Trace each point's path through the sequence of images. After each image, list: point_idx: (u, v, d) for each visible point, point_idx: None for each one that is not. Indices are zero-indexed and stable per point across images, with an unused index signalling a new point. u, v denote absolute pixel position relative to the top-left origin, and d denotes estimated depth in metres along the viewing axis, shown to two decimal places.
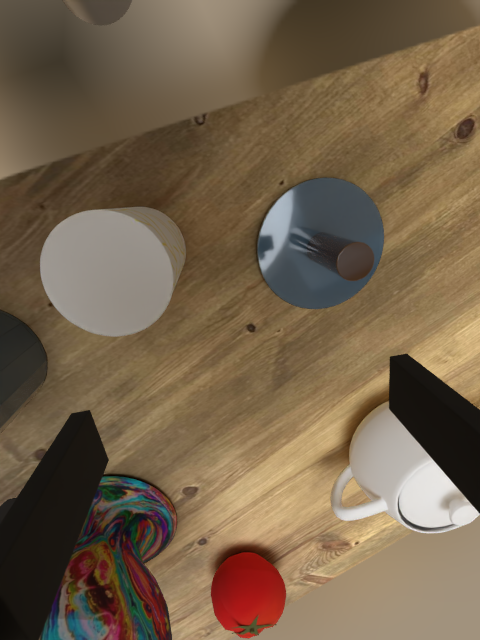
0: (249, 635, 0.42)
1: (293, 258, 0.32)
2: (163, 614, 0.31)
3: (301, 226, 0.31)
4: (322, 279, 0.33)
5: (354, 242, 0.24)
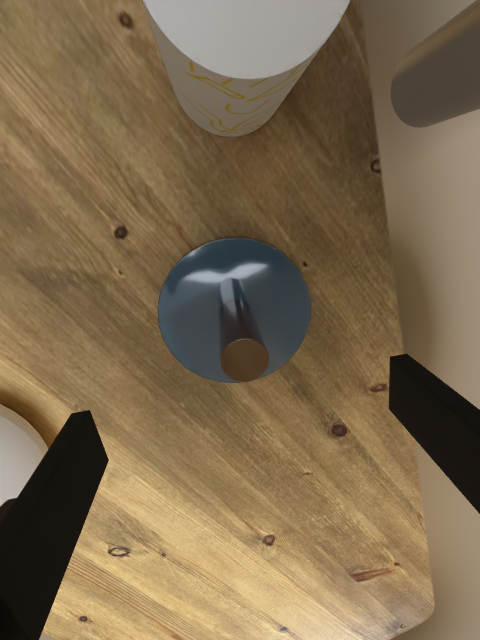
0: None
1: (223, 284, 0.26)
2: None
3: (260, 290, 0.26)
4: (197, 322, 0.27)
5: (268, 355, 0.20)
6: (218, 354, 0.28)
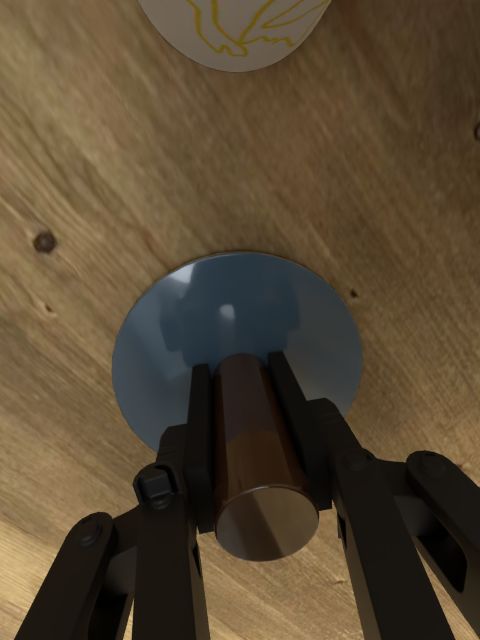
0: None
1: (220, 329, 0.15)
2: None
3: (282, 338, 0.16)
4: (178, 388, 0.16)
5: (317, 512, 0.09)
6: None
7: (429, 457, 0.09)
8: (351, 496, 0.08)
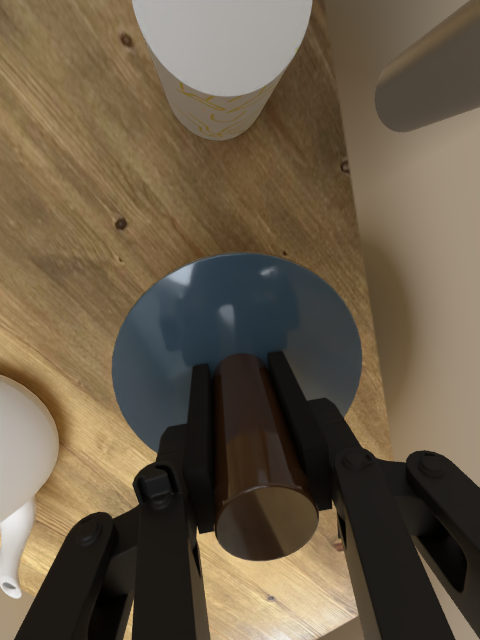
0: None
1: (220, 329, 0.15)
2: None
3: (282, 338, 0.16)
4: (178, 388, 0.16)
5: (317, 511, 0.09)
6: None
7: (429, 457, 0.09)
8: (351, 496, 0.08)
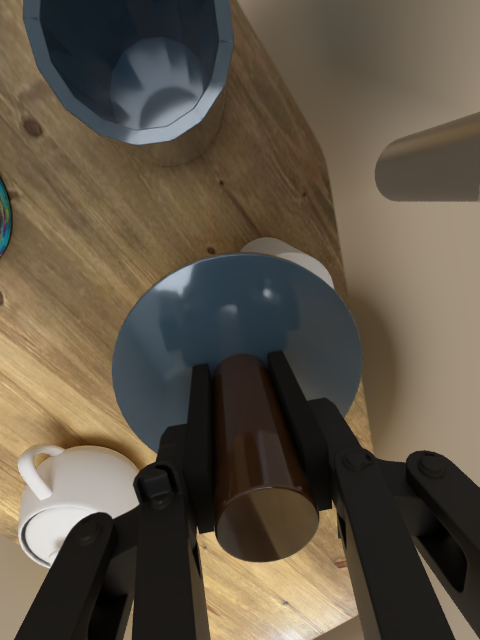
0: None
1: (220, 330, 0.15)
2: None
3: (282, 339, 0.16)
4: (178, 389, 0.16)
5: None
6: None
7: (429, 457, 0.09)
8: (351, 496, 0.08)
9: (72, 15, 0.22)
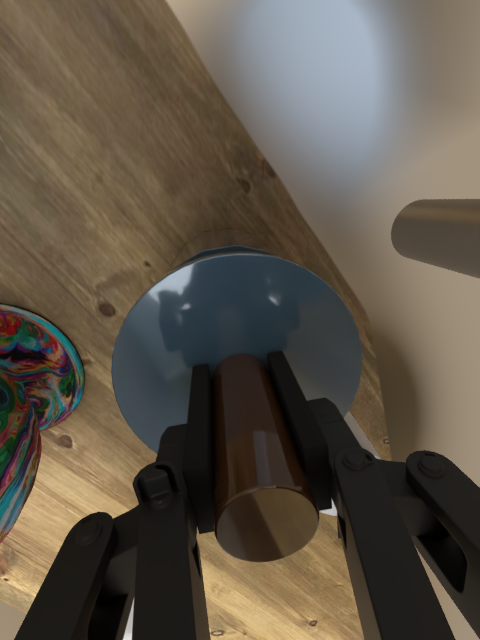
0: None
1: (220, 330, 0.15)
2: None
3: (282, 339, 0.16)
4: (178, 389, 0.16)
5: (317, 512, 0.09)
6: None
7: (429, 457, 0.09)
8: (351, 496, 0.08)
9: None
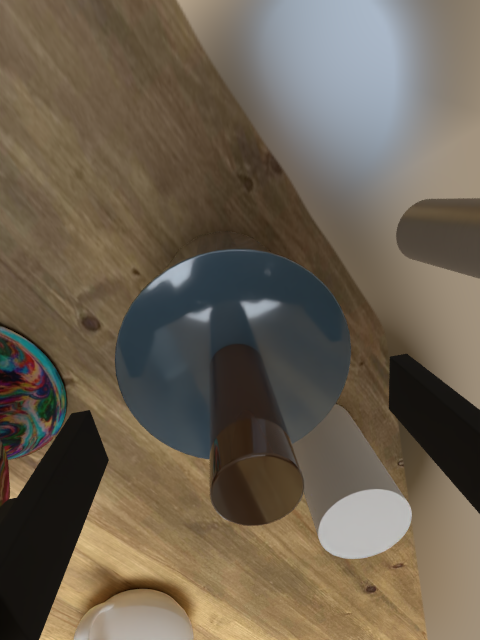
0: None
1: (217, 321, 0.17)
2: None
3: (275, 330, 0.17)
4: (177, 377, 0.17)
5: (302, 480, 0.10)
6: None
7: None
8: None
9: None
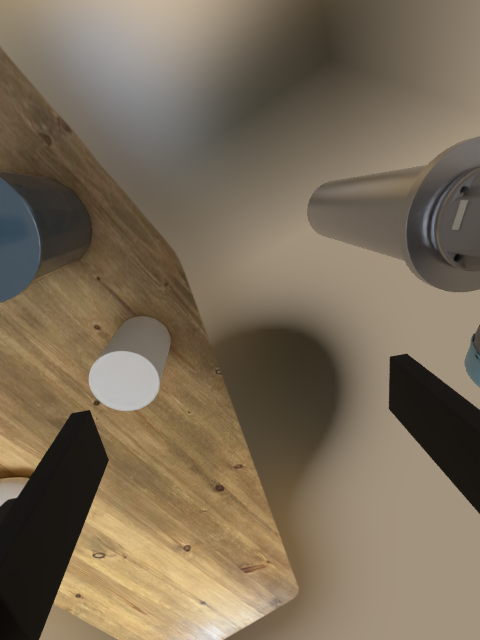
0: None
1: None
2: None
3: None
4: None
5: None
6: None
7: None
8: None
9: None
